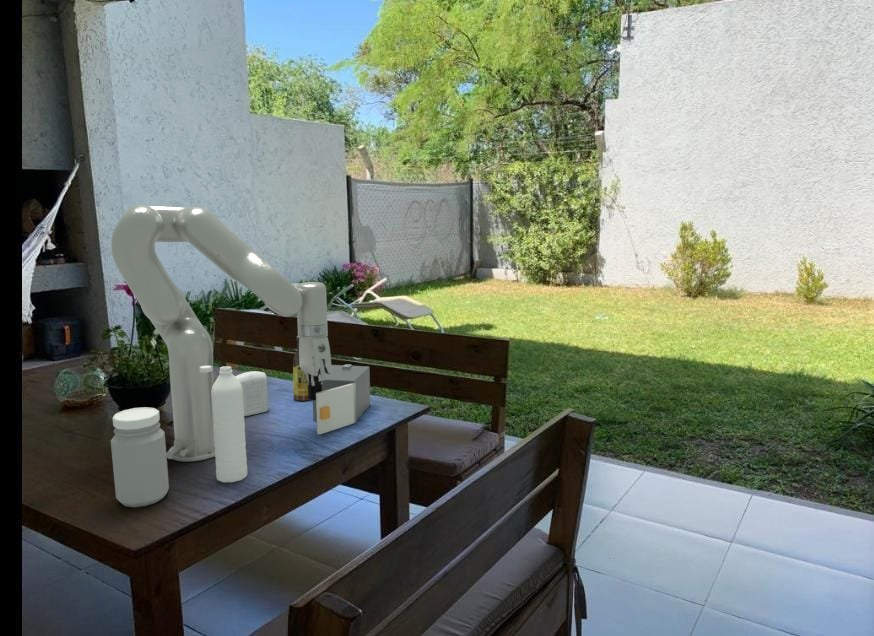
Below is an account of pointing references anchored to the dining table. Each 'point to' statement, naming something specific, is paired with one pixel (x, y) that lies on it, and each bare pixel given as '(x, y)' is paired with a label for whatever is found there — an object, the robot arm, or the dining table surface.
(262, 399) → the photo printer
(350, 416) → the side door
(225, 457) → the water bottle
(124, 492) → the jar
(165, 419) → the dining table surface
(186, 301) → the robot arm
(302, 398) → the sauce bottle
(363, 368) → the gray box
